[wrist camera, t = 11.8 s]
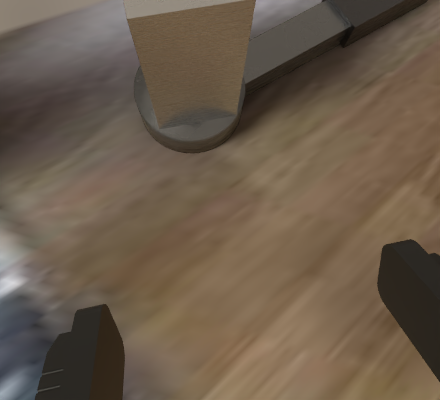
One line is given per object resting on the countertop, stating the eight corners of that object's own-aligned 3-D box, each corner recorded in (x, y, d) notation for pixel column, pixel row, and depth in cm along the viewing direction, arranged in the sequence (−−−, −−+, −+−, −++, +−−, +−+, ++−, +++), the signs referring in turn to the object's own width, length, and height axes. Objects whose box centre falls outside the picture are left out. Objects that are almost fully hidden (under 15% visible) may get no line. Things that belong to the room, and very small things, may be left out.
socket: (146, 61, 24) (107, -86, 14) (219, 48, 24) (228, -102, 15) (159, 129, 22) (126, 18, 13) (236, 115, 23) (255, -2, 14)
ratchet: (173, 171, 25) (163, 139, 19) (122, 90, 26) (100, 38, 20) (441, 19, 28) (496, -45, 23) (385, -47, 29) (425, -121, 24)
